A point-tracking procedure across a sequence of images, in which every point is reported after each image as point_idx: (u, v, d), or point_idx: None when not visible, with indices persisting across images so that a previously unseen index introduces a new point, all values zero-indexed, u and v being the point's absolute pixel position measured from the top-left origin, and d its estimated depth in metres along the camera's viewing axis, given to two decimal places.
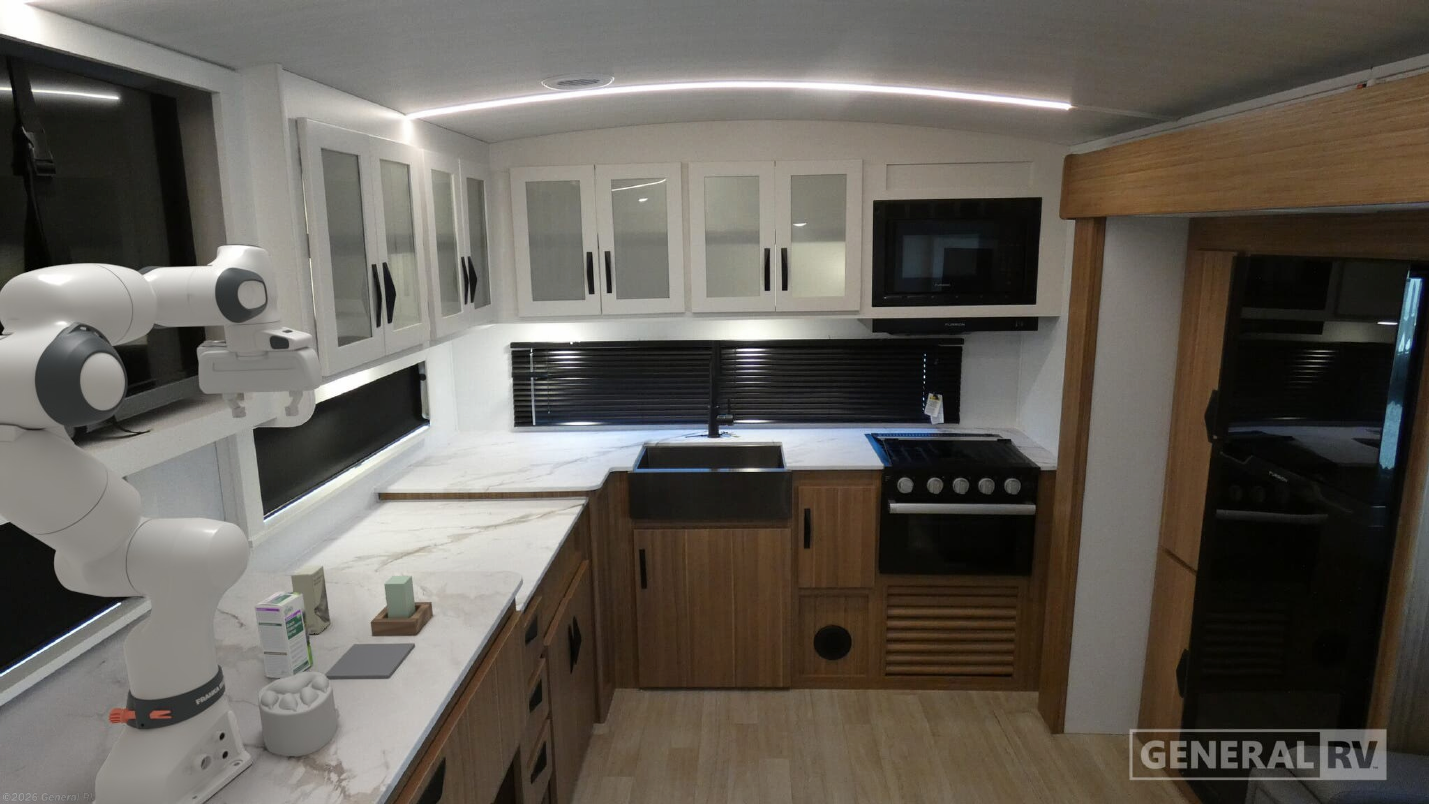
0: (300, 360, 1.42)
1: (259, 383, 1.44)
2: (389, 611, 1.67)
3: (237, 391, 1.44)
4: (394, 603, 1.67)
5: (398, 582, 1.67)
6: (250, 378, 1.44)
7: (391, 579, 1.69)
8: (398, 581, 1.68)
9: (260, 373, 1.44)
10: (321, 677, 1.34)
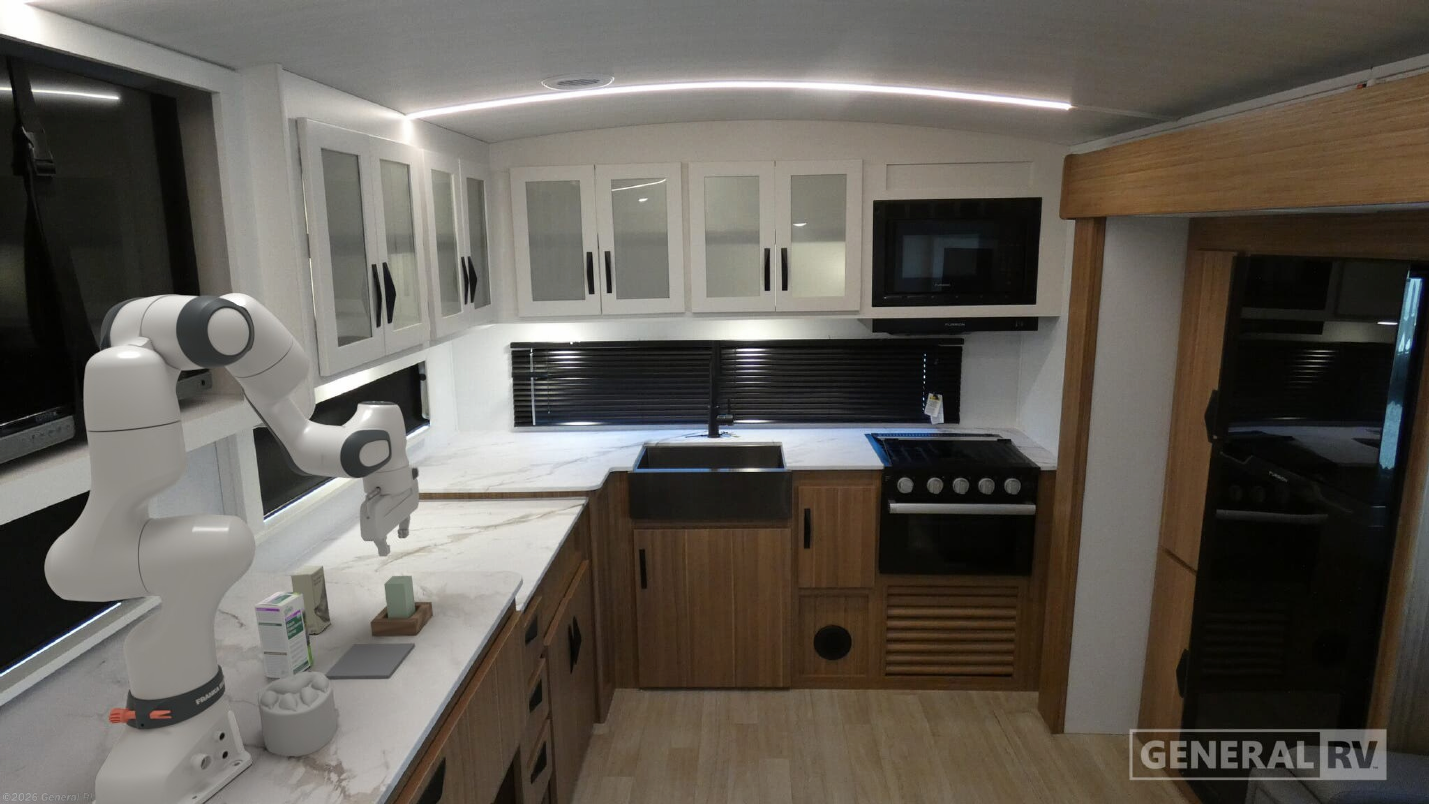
0: (417, 484, 1.73)
1: (401, 515, 1.66)
2: (389, 611, 1.67)
3: (393, 528, 1.63)
4: (394, 603, 1.67)
5: (398, 582, 1.67)
6: (398, 513, 1.65)
7: (391, 579, 1.69)
8: (398, 581, 1.68)
9: (401, 505, 1.66)
10: (321, 677, 1.34)
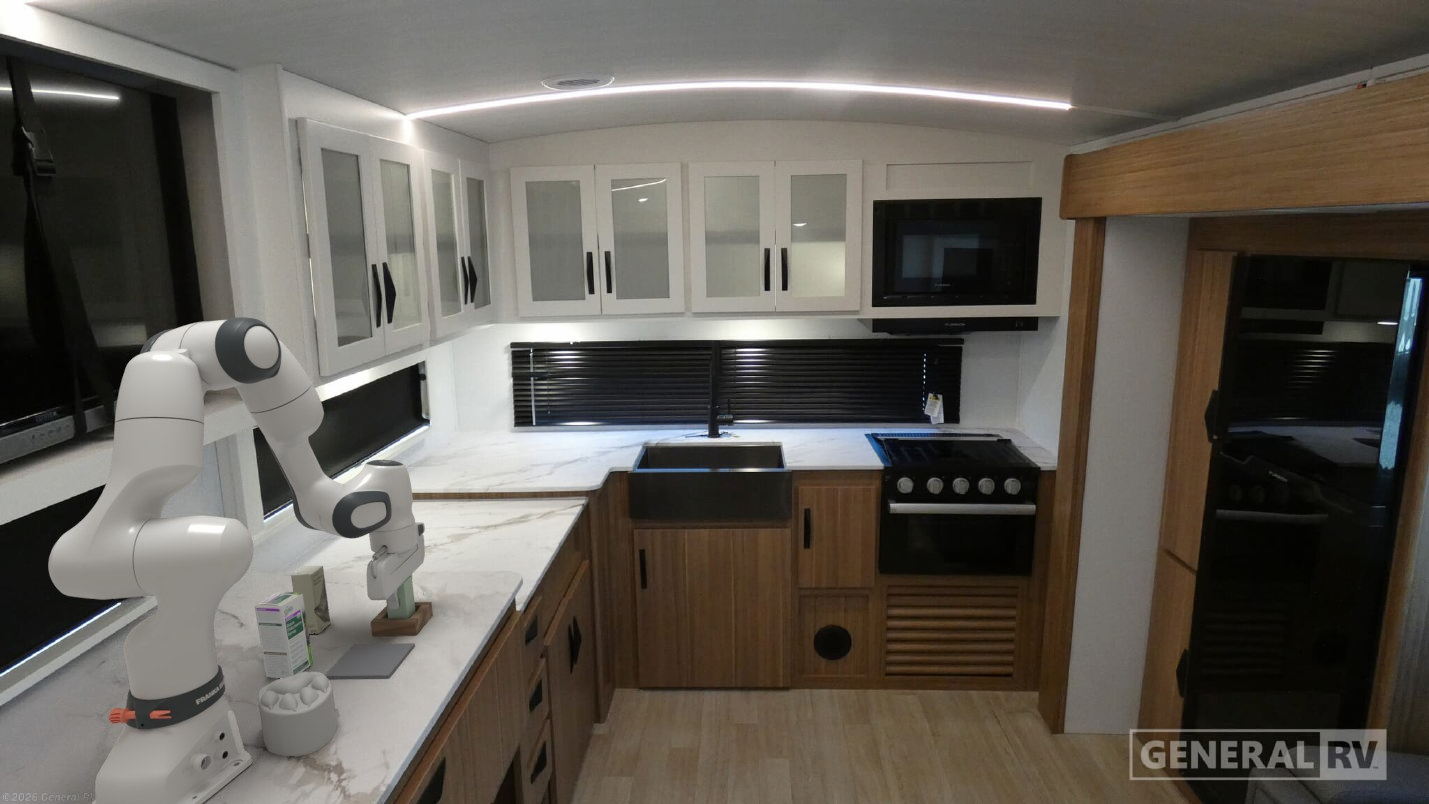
0: (423, 539, 1.76)
1: (407, 571, 1.69)
2: (389, 611, 1.67)
3: (399, 585, 1.65)
4: None
5: None
6: (404, 570, 1.67)
7: None
8: None
9: (407, 562, 1.69)
10: (321, 677, 1.34)
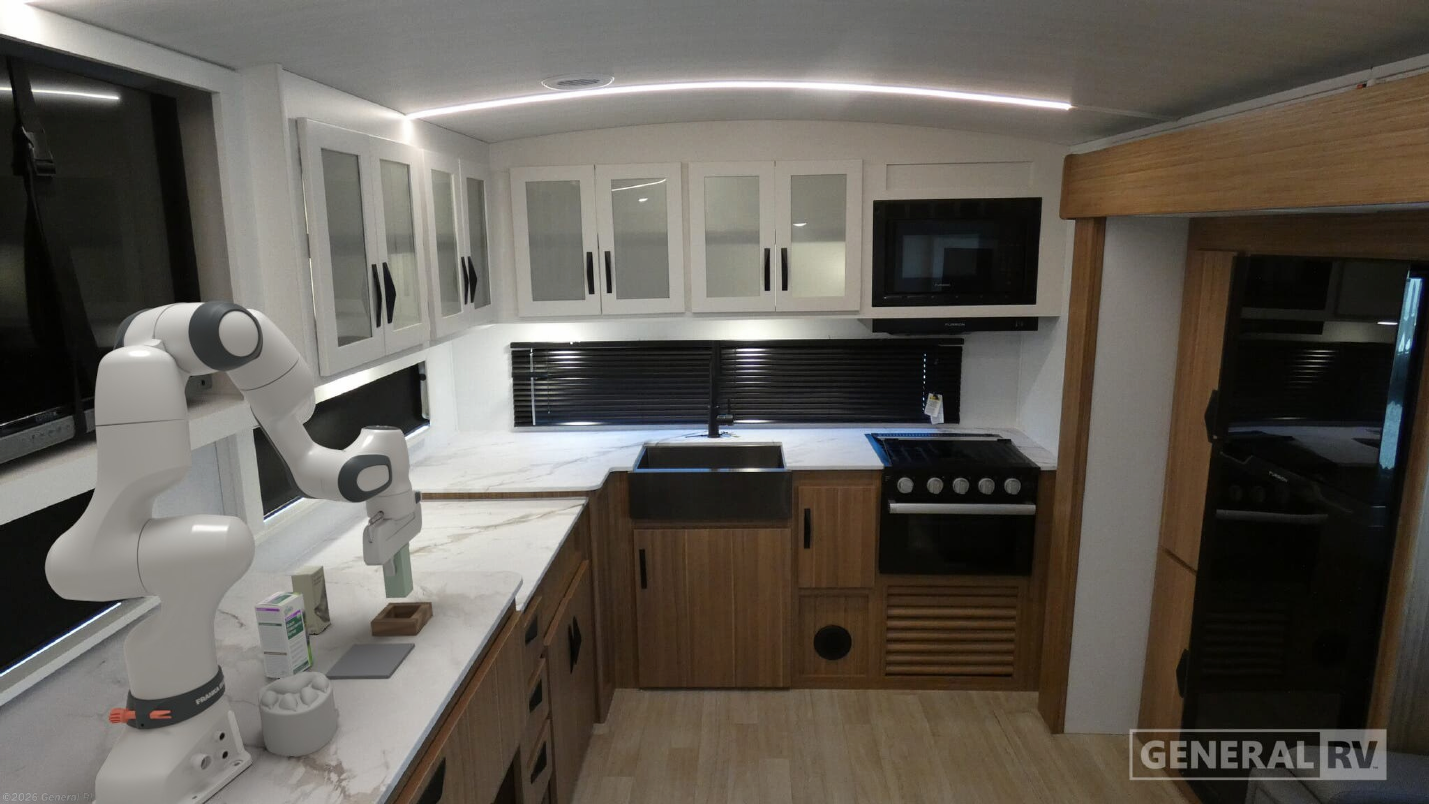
0: (420, 508, 1.74)
1: (404, 539, 1.67)
2: (385, 578, 1.66)
3: (396, 552, 1.63)
4: None
5: None
6: (400, 537, 1.65)
7: None
8: None
9: (404, 529, 1.67)
10: (321, 677, 1.34)
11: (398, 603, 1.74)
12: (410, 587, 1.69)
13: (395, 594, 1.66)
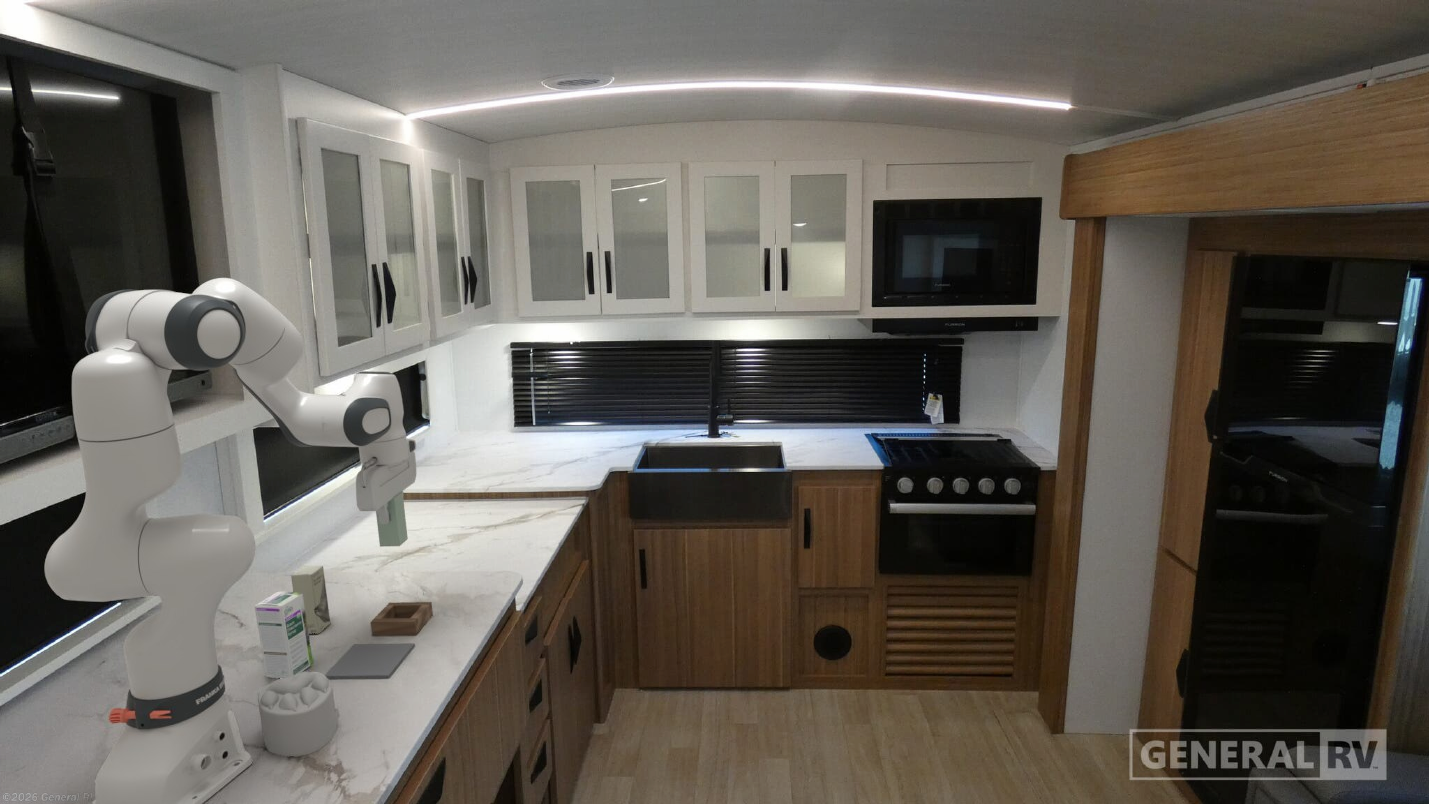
0: (414, 457, 1.72)
1: (398, 487, 1.65)
2: (379, 527, 1.64)
3: (390, 499, 1.61)
4: None
5: None
6: (394, 485, 1.63)
7: None
8: None
9: (398, 477, 1.65)
10: (321, 677, 1.34)
11: (398, 603, 1.74)
12: (404, 536, 1.67)
13: (389, 542, 1.65)
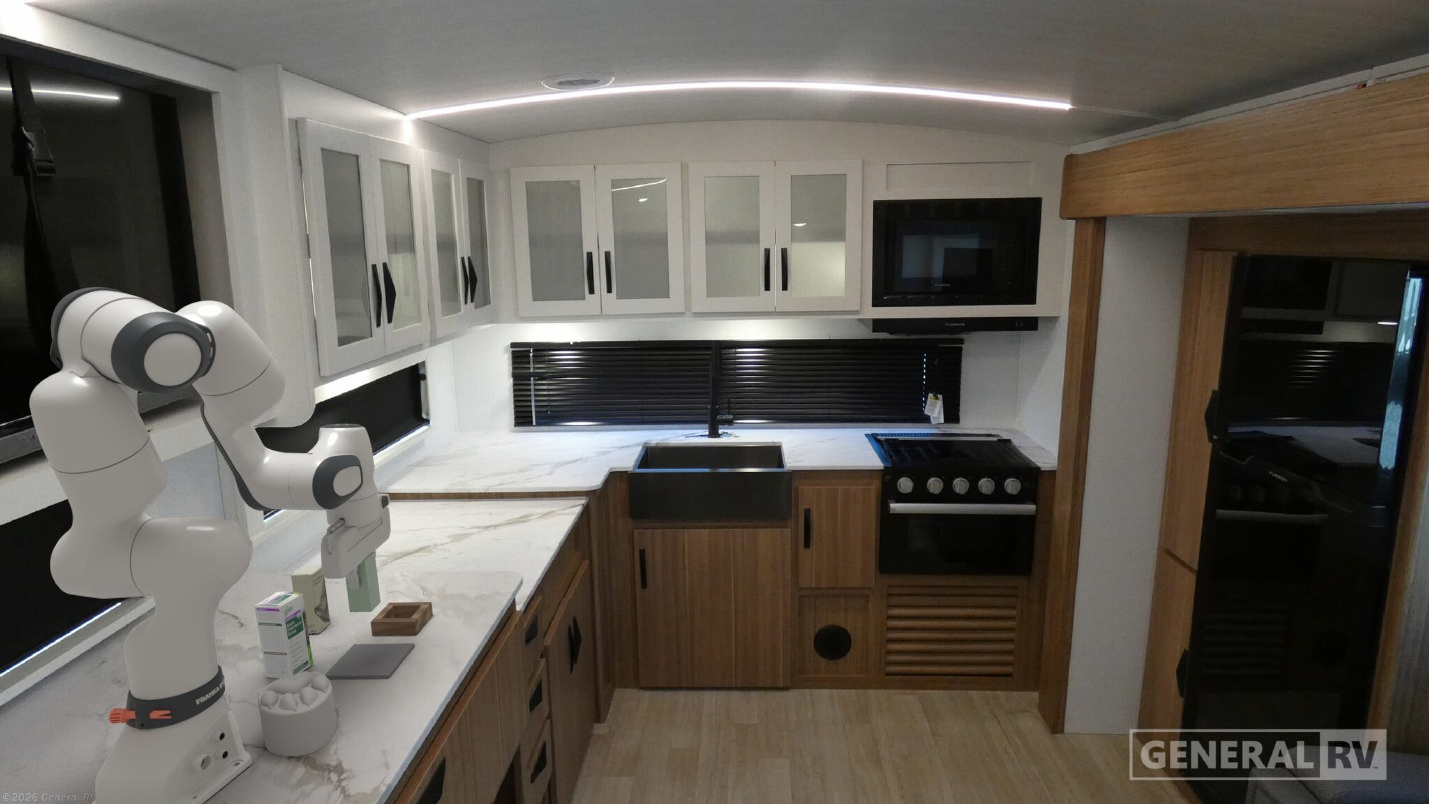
0: (388, 512, 1.59)
1: (369, 547, 1.52)
2: (349, 591, 1.51)
3: (359, 562, 1.48)
4: None
5: None
6: (365, 546, 1.50)
7: None
8: None
9: (369, 537, 1.52)
10: (321, 677, 1.34)
11: (398, 603, 1.74)
12: (377, 600, 1.54)
13: (360, 608, 1.51)
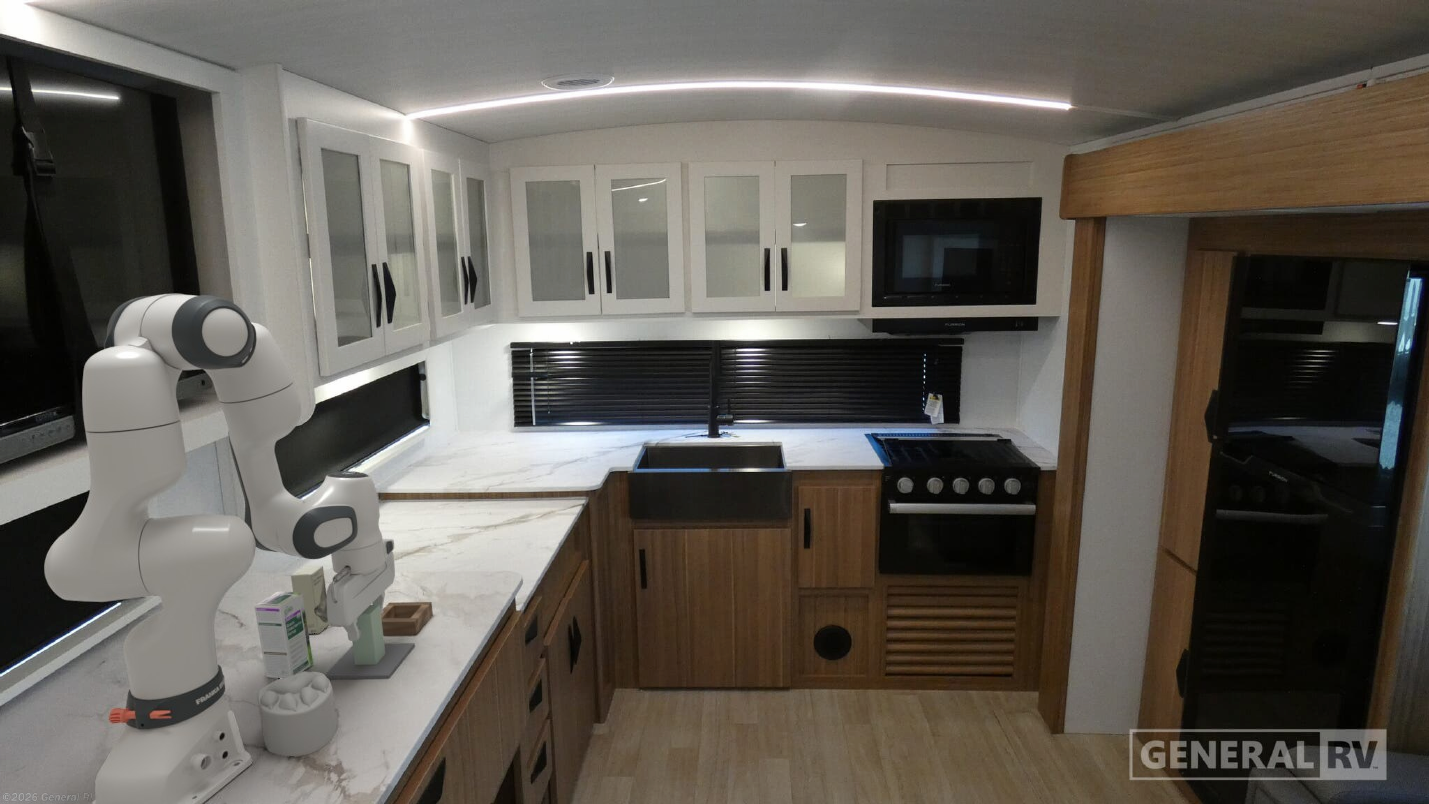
0: (393, 557, 1.61)
1: (374, 593, 1.53)
2: (354, 644, 1.53)
3: (364, 609, 1.50)
4: None
5: (364, 612, 1.52)
6: (370, 592, 1.52)
7: None
8: (364, 611, 1.53)
9: (374, 583, 1.54)
10: (321, 677, 1.34)
11: (398, 603, 1.74)
12: (381, 652, 1.56)
13: (365, 661, 1.53)
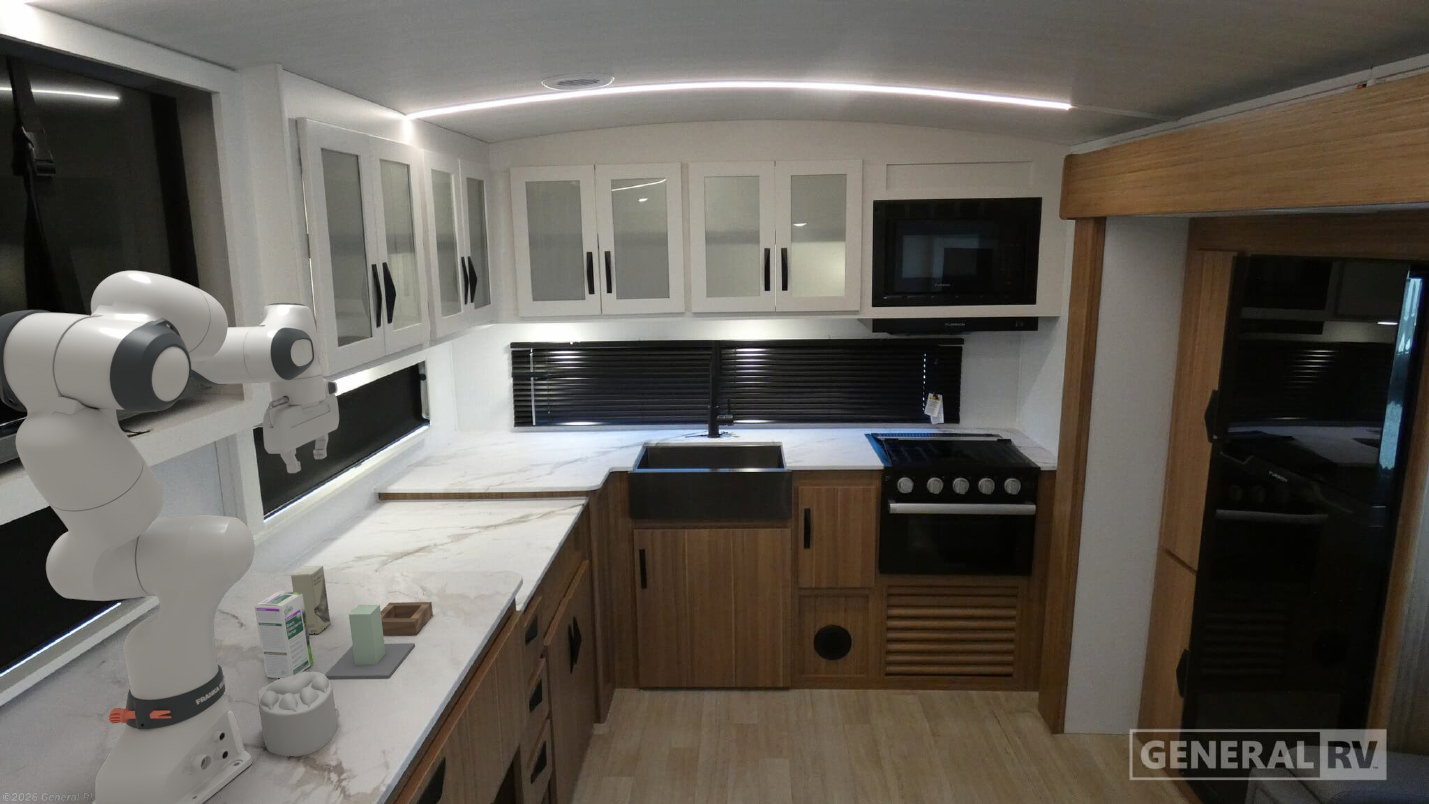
0: (336, 401, 1.60)
1: (315, 431, 1.53)
2: (354, 644, 1.53)
3: (304, 442, 1.49)
4: (359, 636, 1.52)
5: (364, 612, 1.52)
6: (310, 428, 1.51)
7: (356, 608, 1.54)
8: (364, 611, 1.53)
9: (315, 421, 1.53)
10: (321, 677, 1.34)
11: (398, 603, 1.74)
12: (381, 652, 1.56)
13: (365, 661, 1.53)
